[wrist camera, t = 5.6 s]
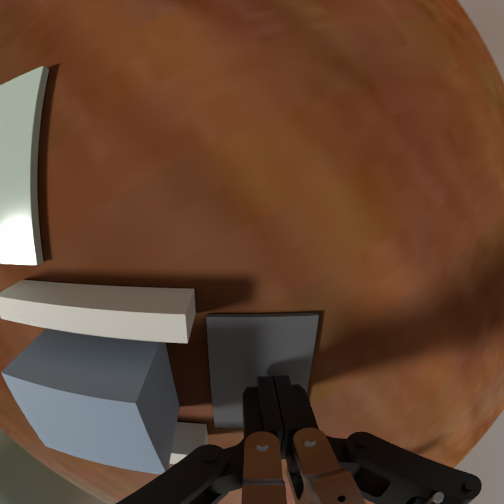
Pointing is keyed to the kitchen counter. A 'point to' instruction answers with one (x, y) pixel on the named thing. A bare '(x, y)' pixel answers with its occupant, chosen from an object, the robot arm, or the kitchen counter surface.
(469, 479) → the robot arm
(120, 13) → the kitchen counter surface
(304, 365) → the channel
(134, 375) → the block
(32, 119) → the tile
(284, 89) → the kitchen counter surface
